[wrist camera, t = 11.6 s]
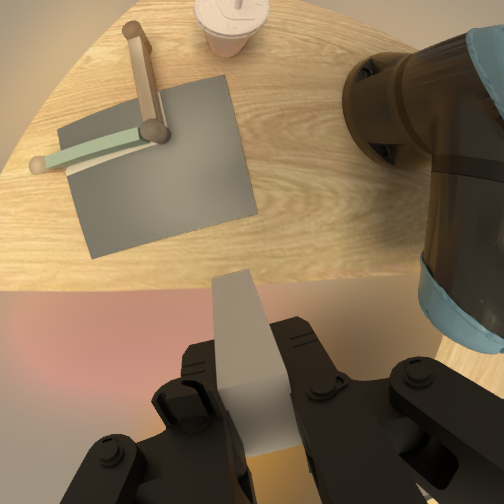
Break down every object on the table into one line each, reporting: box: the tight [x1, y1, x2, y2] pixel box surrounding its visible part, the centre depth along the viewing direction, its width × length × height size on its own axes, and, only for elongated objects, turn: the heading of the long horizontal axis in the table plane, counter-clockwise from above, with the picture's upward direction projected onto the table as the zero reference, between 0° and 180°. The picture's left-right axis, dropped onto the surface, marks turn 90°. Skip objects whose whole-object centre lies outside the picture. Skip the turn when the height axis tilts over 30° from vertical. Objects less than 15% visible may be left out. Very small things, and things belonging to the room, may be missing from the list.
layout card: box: [57, 75, 258, 259], centre depth 31 cm, size 20×16×1 cm
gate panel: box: [29, 127, 150, 175], centre depth 27 cm, size 12×2×6 cm, turn 99°
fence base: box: [122, 21, 171, 144], centre depth 26 cm, size 2×13×7 cm, turn 12°
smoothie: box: [194, 0, 270, 57], centre depth 22 cm, size 6×6×14 cm
